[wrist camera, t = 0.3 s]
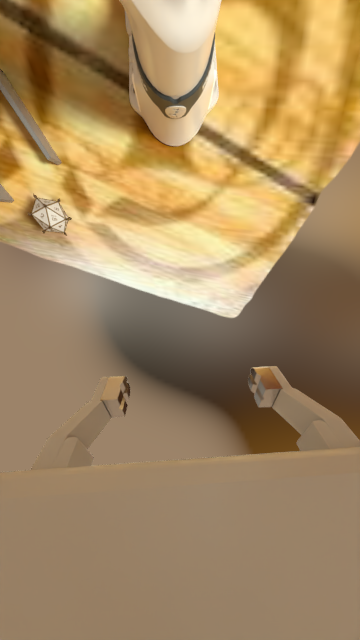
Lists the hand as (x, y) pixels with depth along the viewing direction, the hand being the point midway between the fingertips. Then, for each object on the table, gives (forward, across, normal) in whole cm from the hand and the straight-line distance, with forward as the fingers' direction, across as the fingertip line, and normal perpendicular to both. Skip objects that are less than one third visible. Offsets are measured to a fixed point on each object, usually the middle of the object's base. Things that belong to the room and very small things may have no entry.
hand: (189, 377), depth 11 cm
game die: (+48, +32, -10) cm, 59 cm away
